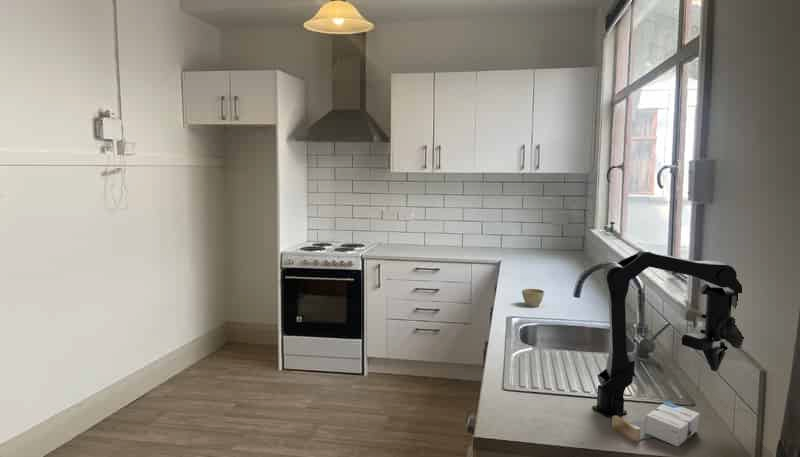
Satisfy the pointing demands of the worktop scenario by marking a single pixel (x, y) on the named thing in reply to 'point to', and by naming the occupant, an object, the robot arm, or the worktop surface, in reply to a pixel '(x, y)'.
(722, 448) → the worktop surface
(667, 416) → the ink box
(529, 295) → the flower pot
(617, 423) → the rail
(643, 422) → the felt mat
